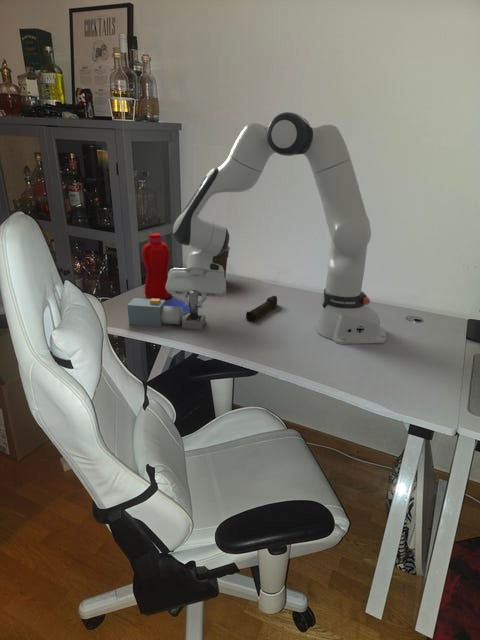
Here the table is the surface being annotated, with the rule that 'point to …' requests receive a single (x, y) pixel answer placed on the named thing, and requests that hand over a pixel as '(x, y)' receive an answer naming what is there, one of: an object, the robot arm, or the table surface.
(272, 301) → the hand tool
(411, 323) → the table surface
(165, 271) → the water bottle
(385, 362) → the table surface
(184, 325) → the handheld vacuum
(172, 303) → the hard drive
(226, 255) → the plant pot
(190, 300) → the grey peg
